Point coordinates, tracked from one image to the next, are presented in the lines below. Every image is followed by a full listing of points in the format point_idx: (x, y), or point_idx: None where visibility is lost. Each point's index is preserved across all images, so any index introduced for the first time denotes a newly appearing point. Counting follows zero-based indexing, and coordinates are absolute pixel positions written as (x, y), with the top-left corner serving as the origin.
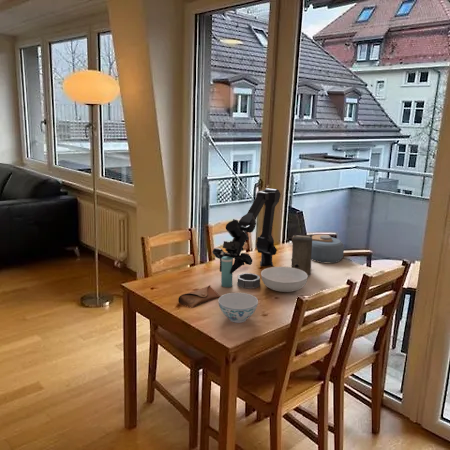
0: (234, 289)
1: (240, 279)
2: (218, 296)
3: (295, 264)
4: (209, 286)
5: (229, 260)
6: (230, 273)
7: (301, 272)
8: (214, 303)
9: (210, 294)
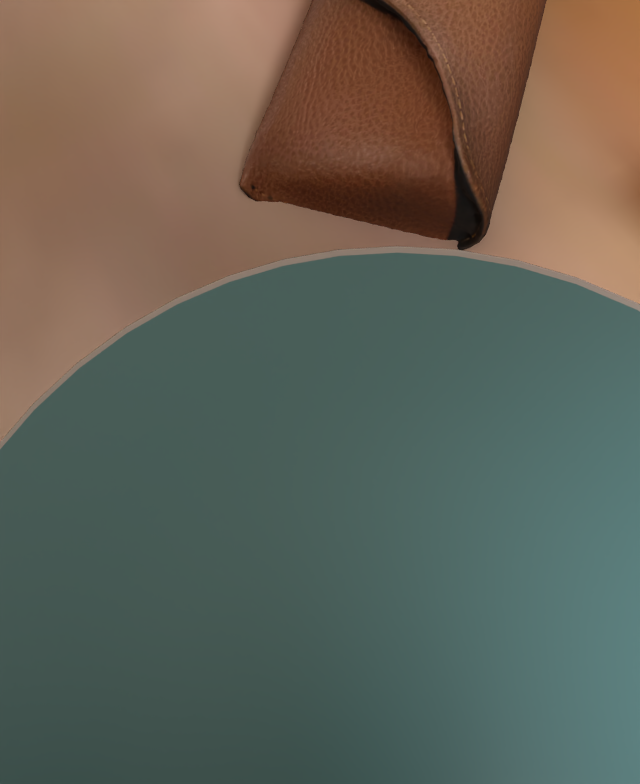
0: None
1: None
2: (256, 134)
3: None
4: (450, 129)
5: (45, 424)
6: None
7: None
8: (228, 20)
9: (327, 35)
